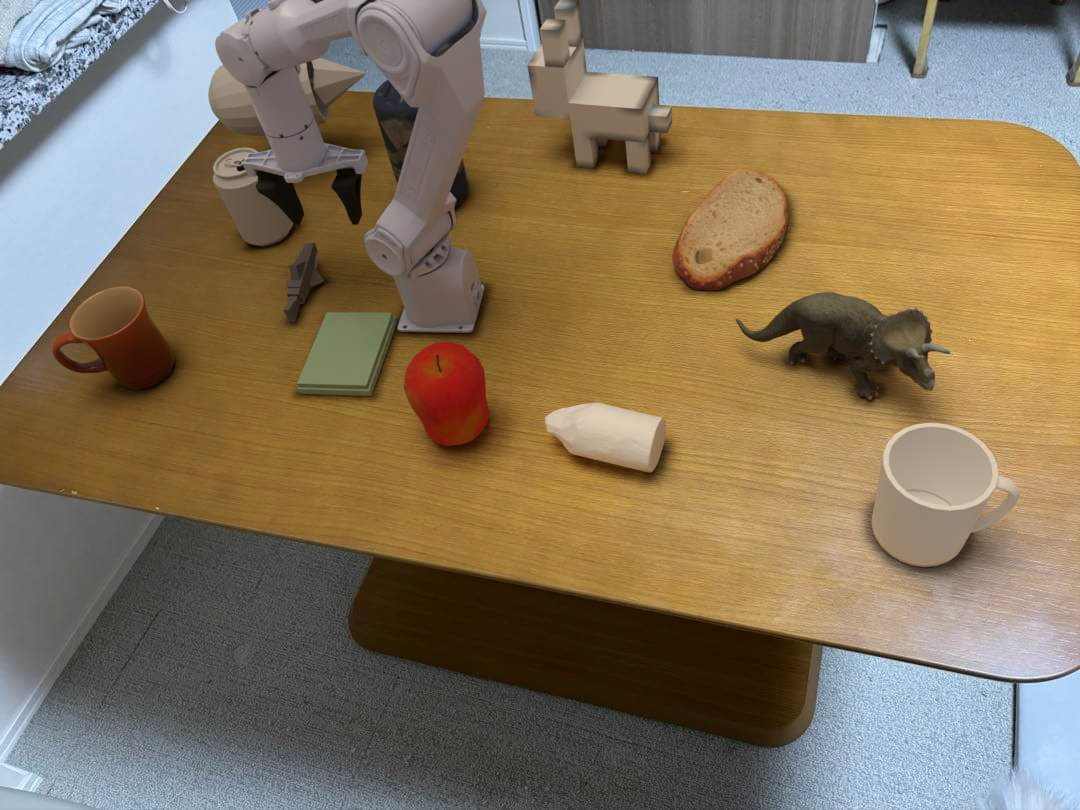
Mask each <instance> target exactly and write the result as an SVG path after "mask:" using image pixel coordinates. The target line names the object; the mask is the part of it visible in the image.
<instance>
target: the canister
mask: <svg viewBox="0 0 1080 810" xmlns="http://www.w3.org/2000/svg"><path fill="white" fill-rule="evenodd" d="M372 106H373V109H374V113H375V117H376V120H377V123H378V127H379V130H380V132H381V136H382V139H383V143H384V147H385V150H386V153H387V156H388V160H389V163H390V166H391V170H392V172H393V176H394V178H395V181H396V183H397V184H398V181H399V177H400V174H401V170H402V166H403V163H404V159H405V156H406V152H407V148H408V145H409V141H410V138H411V134H412V130H413V127H414V123H415V120H416V116H417V112H418V109H419V108H418V107H410V106H409V105H408V104H407V102H406V101H405V100H404V99H403V97H402V96H401V95H400V94H399V93H398V91H397V90H396V89H395V88H394V86H393V85H392V84H391V83H390V82H389V80H388V79H386V80H385V81H384V82H382V83H381V84H380V85H379V86H378V87H377V89H376V90H375V91H374V94H373V97H372ZM468 191H469V178H468V175H467V171H466V166H465V162H464V156H463V157H462V160H461V163H460V165H459V168H458V171H457V173H456V176H455V179H454V181H453V184H452V187H451V190H450V192H451V194H452V195H453V196H454V197H455V198H456V203H455V206H454V208H455V207H456V206H458V205H459V204H461V202H463V200H464V199H465V198H466V196H467V194H468Z"/></svg>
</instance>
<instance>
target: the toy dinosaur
mask: <svg viewBox="0 0 1080 810" xmlns="http://www.w3.org/2000/svg"><path fill="white" fill-rule="evenodd" d="M735 322H736V324H737V325H738V327H739V329H740V331H741V332H742V333H743V335H744V336H746V337H747V338H749V339H750V340H752V341H754V342H759V343H766V342H767V343H768V342H771V341H773V340H774V339H778V338H780V337H784V336H787V335H789V334H791V333H794V332H797V331H799V330H800V333H801V337H802V339H801V341H800V340H799V341H796V342H795V343H793V344H792V345H791V346H790V348H789V349H788V362H789V364H790V365H791V366H794V365H795V363H796V362H799V363H803V364H805V363H806V362H807V361H806V358H805V357H807V356H808V357H809V355H810V354H811V355H822V354H824V353H825V352H826V354H827V356H828V357H829V358H831V359H833V360H834V361H836V360H837V359H843V360H845V359H846V360H847V359H848V358H852V359H853V362H851V363H850V364H849V365H848V371H849V372H850V373H851V375H852V376H853V378H854V380H855V381H856V383H857V385H858V387H857V390H856V394H858V396H859V398H863V397H865V399H867V400H868V401H871V400H873V397H875V398H877V397H879V396H880V393H879V392H878V390H880V387H879V386H877V385H875V384H874V383H871V381H870V378H869V375H868V373H873V372H875V371H878V370H879V371H880V370H882V369H885V368H886V367H887V366H893V367H895V368H897V369H898V370H899V372H900V373H901V374H903V375H905V376H906V377H909V378H910V379H911V380H912V381H913V383H914V384H917V385H918V386H919V387H920V388H921V389H923V390H924V391H927V392H928V391H929V392H932V391H933V390H934V388H935V384H936V382H935V381H936V373H935V370H934V369H933V368H932V367H931V366H930V364H929V353H931V352H935V353H942V354H945V355H950V354H952V352H951V350H949V349H947V348H945V347H944V346H942V345H940V344H937V343H933V342H932V341H933V339H932V333H933V329H932V328H931V322H930V321H928V315H925V314H924V311H923V310H918V308H917V307H915V308H913V309H912V308H910V307H908V308H906V309H905V310H899V311H898V312H896V313H889V314H888V315H887V314H883V313H882V312H881V310H879V309H878V308H877V307H876V306H875V305H873V304H872V303H870V302H868V301H866V300H865V299H862V298H859V297H856V296H849V295H844V294H840V293H837V292H832V291H824V292H823V291H822V292H817V293H813V294H810V295H806V296H803V297H802V298H799V299H796V300H794V301H792V302H791V303H790V304H788V305H786V307H784V308H783V309H782V310H780V311H779V312H778V313H777V314H776V315H775V316H774V317H773V318H772V319H771V321H770V322H769V323H768V324H767V325H766V326H765V327H763V328H762V329H760V330H759V329H758V330H750V329H749V328H748V327H747V326H746V325H745V324H744V323H743V321H742V320H740V319H739V318H735Z"/></svg>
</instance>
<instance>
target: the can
mask: <svg viewBox="0 0 1080 810" xmlns="http://www.w3.org/2000/svg"><path fill="white" fill-rule="evenodd" d="M257 152H259V151H258V150H256V149H254V148H252V147H237V148H234V149H231V150H229V151H227V152H225V153H223V154H222V155H220V156H219V157H218V158H217V159H216V160H215V162H214V164H213V166H212V171H213V176H212V182H213V184H214V186H215V188H216V190H217V191H218V192H217V193H218V194H219V195H220V198H221V199H222V201H223V204H224V205H225V208H226V209H227V211H228V213H229V215H230V217H231V219H232V221H233V223H234V225H235V227H236V229H237V231H238V233H239V235H240V237H241V238H242V240H243V241H244V242H246V243H247V244H249V245H255V246H259V247H267V246H271V245H275V244H277V243H279V242H281V241H282V240H283V239H285V238H286V237H287V236H288V234H290V230H292V228H293V225H294V224H293V222H292V221H291V220H290V219H289V218H288V216H287V215H286V214H285V213H284V212H283V211H282V210H281V209H280V208H279V207H278V206H277V205H276V204H275V203H274V202H272V201H271V200H270V199H268V198H267V197H265V196H264V195H262V194H260V193H258V191H257V189H256V184H257V182H258V179H257V178H258V176H255V177H249V176H248V174H247V172H246V170H245V168H244V166H243V164H242V163H243V161H244V160H245V158H246V156H247V155H248V153H257Z"/></svg>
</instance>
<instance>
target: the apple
mask: <svg viewBox="0 0 1080 810" xmlns="http://www.w3.org/2000/svg"><path fill="white" fill-rule="evenodd" d="M485 373H486V372H485V369H484V367H483V365H482V362H481V361H480V358H479V357H478V356H477V355H475V354H474V353H473V352H472V351H470V350H469V349H468V348H467V347H466V346H465V345H464V344H461V343H457V342H454V341H451V340H450V341H436V342H433V343H432V344H430V345H427V346H425V347H423V348H422V349H421V350H419V352H417V353H416V354H415V355H414V356H413V357H412V359H411V360H410V362H409V364H408V365H407V367H406V369H405V373H404V377H403V390H404V393H405V397H406V399H407V401H408V403H409V405H410V407H411V409H412V410H413V413H415V415H416V416H417V417H418V418H419V419H418V420H420V421H421V423H422V426H423V428H424V431H425V432H426V435H427V436H428V437H429V438H430V439H431V440H432V441H433V442H435V443H436V444H439V445H443V446H445V447H451V446H458V445H464V444H468V443H471V442H472V441H474V440H475V439H476V438H477V437H478V436H479V435H480V434H481V433H483V431H484V429H485V428H486V426H487V425H488V423H489V417H490V408H489V403H488V400H487V387H486V386H487V385H486V384H487V383H486V374H485Z"/></svg>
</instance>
